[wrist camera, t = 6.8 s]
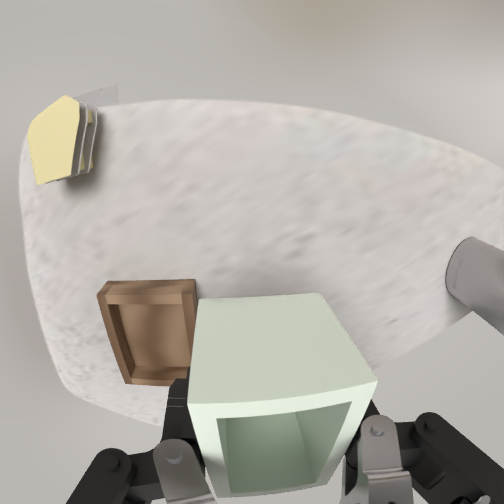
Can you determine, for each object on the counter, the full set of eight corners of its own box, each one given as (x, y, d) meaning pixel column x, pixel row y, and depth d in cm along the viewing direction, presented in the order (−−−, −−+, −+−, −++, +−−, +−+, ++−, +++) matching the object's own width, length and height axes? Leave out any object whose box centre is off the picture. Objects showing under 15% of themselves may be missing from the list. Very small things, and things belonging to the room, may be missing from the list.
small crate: (319, 292, 10) (378, 380, 6) (301, 406, 13) (326, 484, 8) (198, 298, 10) (187, 403, 5) (214, 414, 12) (217, 497, 8)
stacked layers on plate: (125, 180, 24) (102, 186, 18) (53, 197, 23) (23, 207, 18) (118, 83, 20) (95, 68, 15) (46, 108, 20) (16, 103, 14)
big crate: (194, 279, 27) (192, 293, 24) (205, 367, 31) (204, 386, 28) (107, 281, 26) (96, 294, 23) (131, 366, 30) (125, 383, 27)
